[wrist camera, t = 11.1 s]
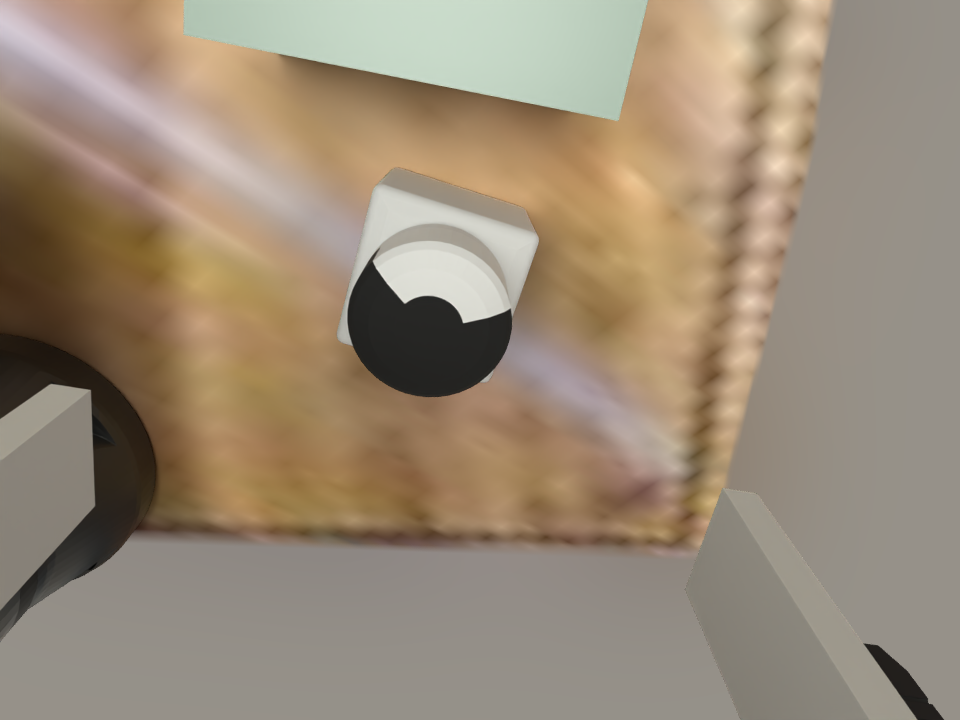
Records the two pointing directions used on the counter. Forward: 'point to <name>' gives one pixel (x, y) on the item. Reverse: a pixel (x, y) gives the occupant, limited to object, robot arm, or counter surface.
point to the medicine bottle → (435, 284)
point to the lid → (450, 42)
